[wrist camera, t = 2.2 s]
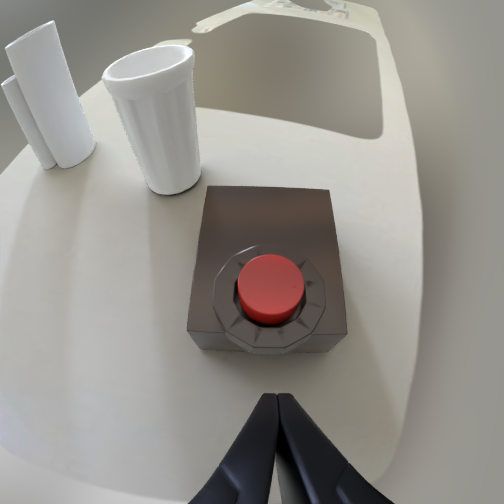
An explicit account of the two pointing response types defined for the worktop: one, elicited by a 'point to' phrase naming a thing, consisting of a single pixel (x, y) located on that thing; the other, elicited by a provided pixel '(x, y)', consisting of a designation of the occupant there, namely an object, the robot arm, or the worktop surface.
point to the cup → (159, 114)
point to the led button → (270, 289)
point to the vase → (47, 99)
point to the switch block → (266, 243)
